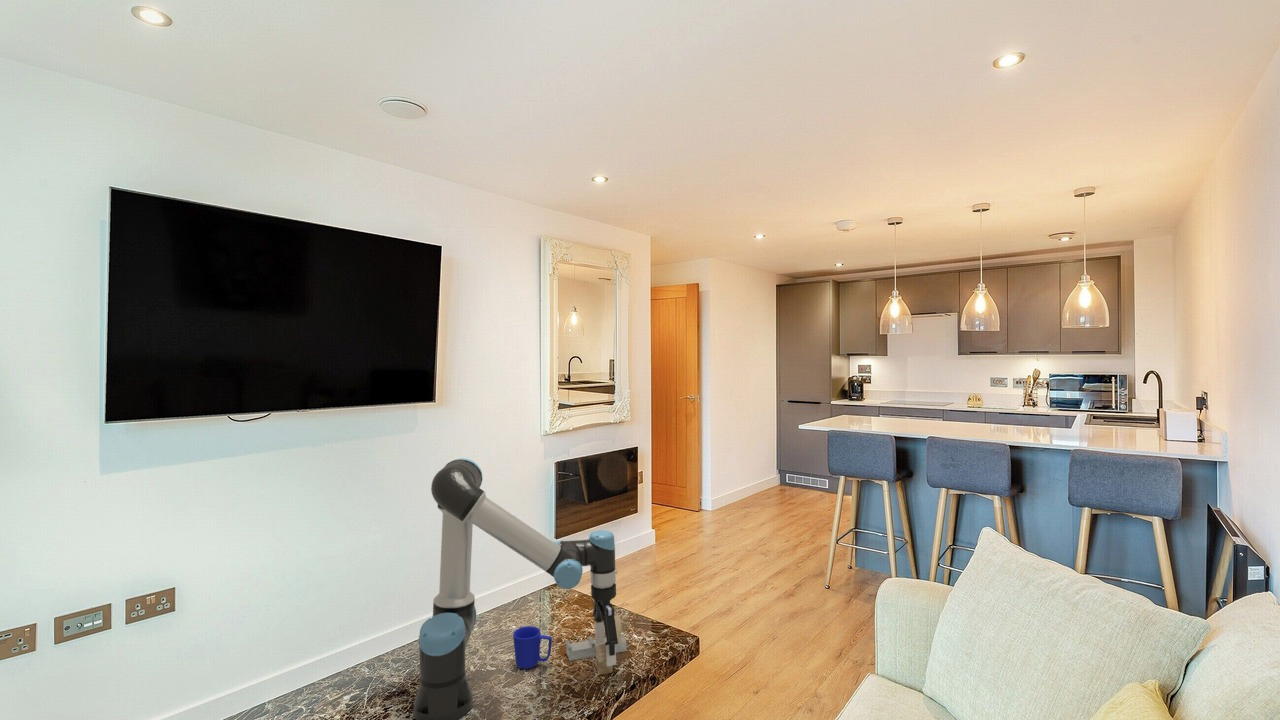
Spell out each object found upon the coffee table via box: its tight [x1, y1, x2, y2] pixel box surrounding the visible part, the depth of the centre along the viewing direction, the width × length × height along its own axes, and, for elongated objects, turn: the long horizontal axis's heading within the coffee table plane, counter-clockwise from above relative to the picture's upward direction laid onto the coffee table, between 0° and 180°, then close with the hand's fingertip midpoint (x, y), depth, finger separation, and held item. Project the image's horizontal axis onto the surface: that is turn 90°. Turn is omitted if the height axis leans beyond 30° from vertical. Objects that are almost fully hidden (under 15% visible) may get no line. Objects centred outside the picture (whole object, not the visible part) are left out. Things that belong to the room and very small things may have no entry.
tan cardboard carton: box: [595, 644, 615, 675], centre depth 176 cm, size 5×4×7 cm
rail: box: [564, 614, 627, 662], centre depth 187 cm, size 19×5×10 cm, turn 108°
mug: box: [512, 625, 553, 670], centre depth 179 cm, size 8×12×10 cm
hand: (605, 653), depth 176 cm, fingers open, 13 cm apart
